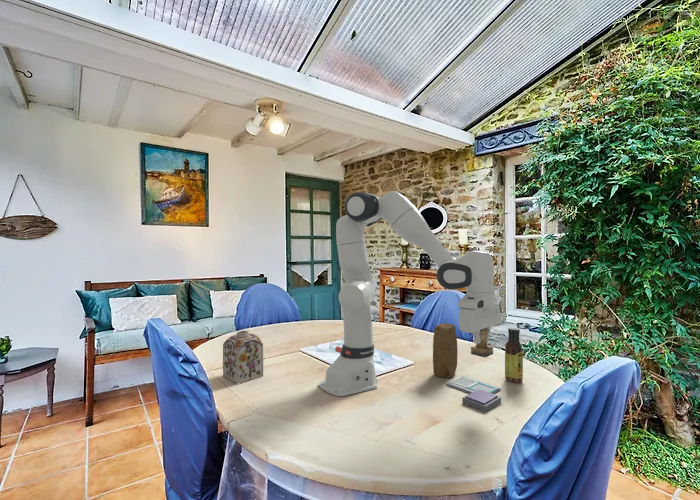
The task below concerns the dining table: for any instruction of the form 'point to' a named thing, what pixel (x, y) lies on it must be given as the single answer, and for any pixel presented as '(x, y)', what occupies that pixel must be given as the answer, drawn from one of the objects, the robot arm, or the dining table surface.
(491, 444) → the dining table surface
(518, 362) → the sauce bottle
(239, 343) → the decorative jar
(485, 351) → the stamp
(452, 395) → the dining table surface
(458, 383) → the board
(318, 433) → the dining table surface
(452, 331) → the block
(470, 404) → the ink pad
